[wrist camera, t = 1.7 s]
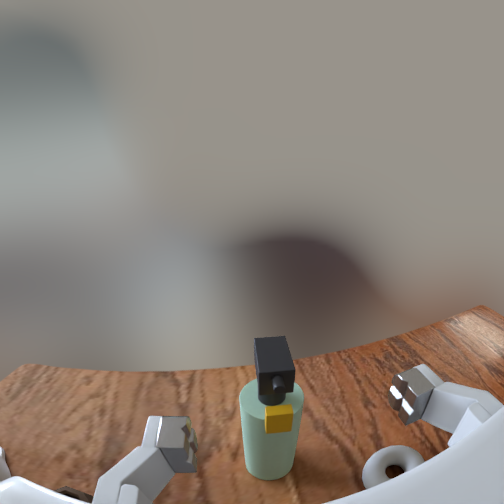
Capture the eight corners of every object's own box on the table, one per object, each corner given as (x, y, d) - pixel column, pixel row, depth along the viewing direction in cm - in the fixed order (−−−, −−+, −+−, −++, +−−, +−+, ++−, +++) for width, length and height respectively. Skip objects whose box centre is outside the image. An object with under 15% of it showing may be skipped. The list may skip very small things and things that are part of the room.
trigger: (266, 434, 21) (266, 416, 20) (264, 425, 22) (264, 406, 21) (291, 431, 21) (293, 413, 20) (289, 422, 22) (291, 403, 21)
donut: (422, 454, 26) (366, 448, 31) (431, 442, 25) (373, 437, 30) (415, 504, 18) (351, 500, 22) (426, 496, 17) (358, 492, 21)
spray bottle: (247, 487, 26) (236, 386, 20) (244, 446, 34) (235, 333, 28) (297, 482, 27) (321, 377, 20) (289, 442, 34) (300, 329, 28)
